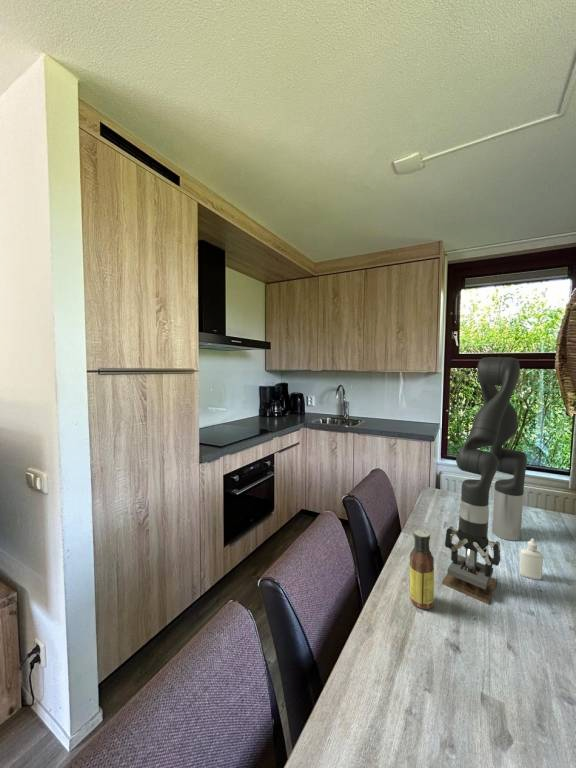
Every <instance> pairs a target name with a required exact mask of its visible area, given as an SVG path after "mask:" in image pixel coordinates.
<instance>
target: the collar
mask: <svg viewBox="0 0 576 768" xmlns="http://www.w3.org/2000/svg"><path fill="white" fill-rule="evenodd" d="M465 557H466V556H463V555H460V554H458V560H457V563H456V564H454V563H453V561H452V560H451V561H452V562H451V563H450V565H449V566H448V567H447V570H446V571H447V573H446V575H447V574H449V575H451V576H454V577H456V578H458V579H461V580H463V581H466V582H468V583H470V584H473V585H475V586H477V587H480V588H482V589H485V590H486V588H487V586H488V583H489V581H490V579H491V577H492V576H493V574H494V567H492V572H491V575H488V577H487V576H485V564H484V563H481V562H480V561H479V562H478V561H477V567H476V572H479V573H478V575H475V574H472V573H470V572H467V571H465V570H462V569H463V567H465ZM492 578H493V577H492Z"/></svg>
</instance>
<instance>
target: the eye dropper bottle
mask: <svg viewBox="0 0 576 768" xmlns="http://www.w3.org/2000/svg"><path fill="white" fill-rule="evenodd" d="M519 553H520V554H519V564H518V565H519V567H518V572H519V574H520V575H521V576H522V577H525V578H527V579H531V580H535V581H536V580H542V578H543V564H544V555H543V554H542V553H541V551H538V544H537V542H535V539H534V538H532V537H531V539H530V540H529V541H527V544H526V548H521V549H520V552H519Z"/></svg>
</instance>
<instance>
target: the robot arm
mask: <svg viewBox="0 0 576 768" xmlns="http://www.w3.org/2000/svg"><path fill="white" fill-rule="evenodd" d="M476 369H477V379H478V383H479V387H480V390H481V393H482V396H483V397H482V398H483V403H484V405H483V406H482V407H480V409H478V411H477V412H476V414H475V416H474V418H473V420H472V421H473V422H472V426H471V428H470V432H469V434H468V437H467V439H466V440H465V441H464V443H463V444H462V446H461V447H460V449H459V451H458V452H457V454H456V457H455V458H456V459H455V462H456V466H457V467H458V469H459V470H461V471H463V472H467V473H470V474H474V475H479V476H480V479H464V480H463V481H462V483H461V493H460V494H461V496H460V502H459V509H458V513H459V515H458V529H455V528H453V526H451V525H450V526H449V527H447V529H446V534H445V541H444V542H445V543H444V547H445V548H447V549H450V550H451V554H450V555H451V556H450V560H451V561H453V563H454V564H456V563H457V560H458V555H459V549H461V548H462V547H464V548H465V550H466V549H470V550H473V551H475V552H477V553H478V554H479V555H480V556H481V558H483V560H484V561H485V564H484V565H485V576H487V577H488V575H491V572H492V568H493V566H499V564H500V563H501V543H500V542H499V541H497V540H496V541H491V540H489V538H488V532H489V516H490V515H489V514H490V511H489V501H490V498H489V497H490V489H491V487H492V482H493V480H494V478H495V476H496V473H497V472H499V473H502V474H507V475H512V476H513V477H511V478H508V479H499V480H496V481H495V483H494V492H493V493H494V494H493V506H492V507H493V510H492V521H491V522H492V523H491V524H492V525H491V532H492V533H493V534H494V535H495V536H496V537H498V538H501V539H503V540H508V541H519V540H520V539H521V535H522V534H521V533H522V522H523V521H522V519H523V506H524V490H525V478H526V470H527V464H528V463H527V462H528V457H527V454H526V453H525V452H524V451H520V450H514V449H509V448H503V446H504V445H505V443H507V441H508V440H511V438H512V437H513V436H514V435H515V434H516V433H517V431H518V428H519V419H518V413H517V411H516V410H517V409H515V407H514V406H513V404H512V403H510V400H511V399H512V396H513V395H514V394H513V393H514V391H515V389H516V386H517V384H518V382H519V378H520V372H521V371H520V369H521V368H520V362H519V360H518V359H517V358H515V357H510V356H509V357H508V356H507V357H504V356H503V357H502V356H501V357H498V356H497V357H495V356H494V357H493V356H492V357H491V356H489V357H488V356H486V357H482V358H481V359H480V360H479V361H478V364H477V368H476ZM499 386H500V388H499V390H498V389H497V387H499ZM481 447H483V448H484V447H490V451H485V450H480V449H479V448H481ZM455 535H456V537H457V539H458V541H457V542H456V543H453V542H452V541H453V540H452V539H453V537H454V536H455ZM488 546H489V547H490V549H491V551H493V556H492V555H491V554H490V552H489V550H488V548H487V547H488Z"/></svg>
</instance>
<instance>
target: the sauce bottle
mask: <svg viewBox="0 0 576 768" xmlns="http://www.w3.org/2000/svg"><path fill="white" fill-rule="evenodd" d="M413 537H414V538H413V539H414V543H413V544H414V546H413V549H412V550H411V551H410V553H409V599H410V601H411V603H412V604H413V605H414V606H415V607H417V608H419V609H421V610H429V609H432V608H433V606H434V600H435V568H434V563H435V562H434V561H435V560H434V556H433V554H432V552H431V550H430V540H431V535H430V532H429V531H428V530H427V531H426V530H424V529H415V530H414V531H413Z"/></svg>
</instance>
